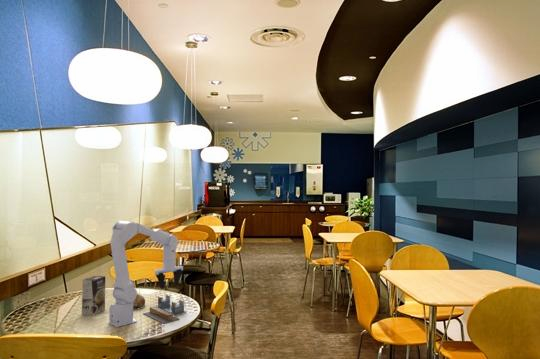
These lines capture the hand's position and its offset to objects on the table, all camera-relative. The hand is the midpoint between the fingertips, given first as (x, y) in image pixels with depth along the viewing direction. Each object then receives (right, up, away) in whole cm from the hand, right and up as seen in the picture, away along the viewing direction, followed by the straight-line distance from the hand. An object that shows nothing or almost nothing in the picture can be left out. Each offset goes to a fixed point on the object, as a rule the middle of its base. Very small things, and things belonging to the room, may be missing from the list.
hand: (169, 287), depth 195 cm
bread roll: (-18, -11, +2) cm, 21 cm away
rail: (-1, -10, -12) cm, 16 cm away
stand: (+1, -10, -2) cm, 11 cm away
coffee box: (-34, -10, -6) cm, 36 cm away
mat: (-1, -10, -12) cm, 16 cm away
